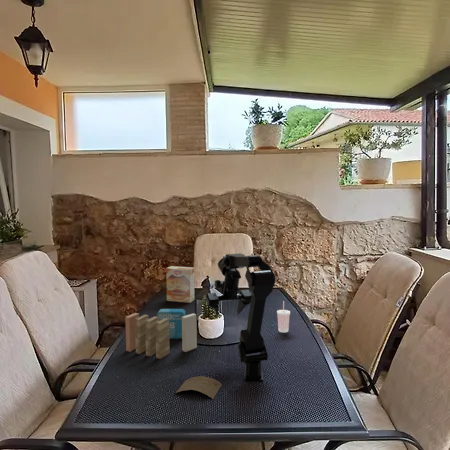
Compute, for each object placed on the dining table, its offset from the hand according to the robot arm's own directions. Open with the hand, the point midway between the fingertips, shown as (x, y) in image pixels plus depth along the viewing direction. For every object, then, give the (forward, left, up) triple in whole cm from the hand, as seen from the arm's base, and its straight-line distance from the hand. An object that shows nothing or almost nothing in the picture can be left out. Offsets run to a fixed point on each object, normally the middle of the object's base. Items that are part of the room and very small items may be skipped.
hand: (227, 315), depth 160 cm
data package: (+11, +25, -14) cm, 30 cm away
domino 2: (-7, +29, -14) cm, 33 cm away
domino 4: (-3, +15, -14) cm, 21 cm away
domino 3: (-9, +25, -14) cm, 30 cm away
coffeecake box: (+68, +30, -14) cm, 75 cm away
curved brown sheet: (-34, +8, -14) cm, 38 cm away
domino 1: (-5, +34, -14) cm, 37 cm away
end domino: (-3, +38, -14) cm, 41 cm away
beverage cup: (+20, -25, -14) cm, 35 cm away
